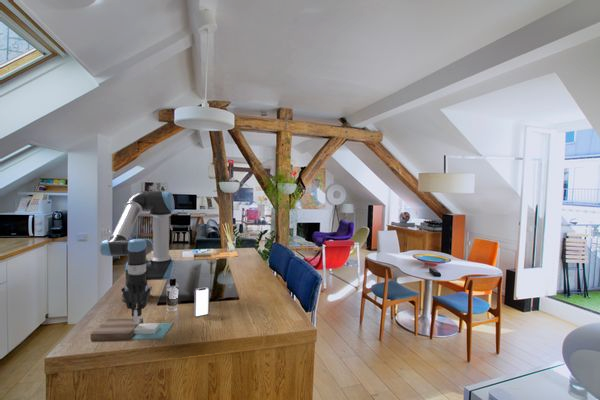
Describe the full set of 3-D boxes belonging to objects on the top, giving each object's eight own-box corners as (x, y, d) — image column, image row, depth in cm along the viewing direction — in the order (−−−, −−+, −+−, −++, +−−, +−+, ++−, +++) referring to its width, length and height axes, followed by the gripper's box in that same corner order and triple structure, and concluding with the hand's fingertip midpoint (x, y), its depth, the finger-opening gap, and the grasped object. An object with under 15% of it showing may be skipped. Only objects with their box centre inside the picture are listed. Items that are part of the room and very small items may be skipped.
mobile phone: (208, 313, 164) (208, 286, 163) (209, 314, 163) (209, 287, 162) (193, 317, 160) (194, 288, 159) (194, 317, 159) (195, 289, 158)
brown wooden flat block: (108, 324, 148) (108, 318, 148) (143, 324, 150) (143, 318, 150) (90, 340, 133) (90, 333, 133) (129, 339, 135) (129, 333, 135)
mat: (145, 324, 150) (145, 323, 150) (172, 323, 151) (172, 322, 151) (131, 339, 135) (131, 338, 135) (162, 339, 136) (162, 338, 136)
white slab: (139, 327, 145) (139, 323, 145) (159, 327, 146) (159, 323, 146) (133, 333, 139) (134, 329, 139) (154, 333, 140) (154, 329, 140)
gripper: (118, 275, 136) (117, 326, 138) (148, 275, 138) (148, 326, 139) (125, 270, 144) (125, 319, 145) (154, 270, 145) (154, 319, 146)
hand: (136, 322), depth 142 cm, fingers closed
